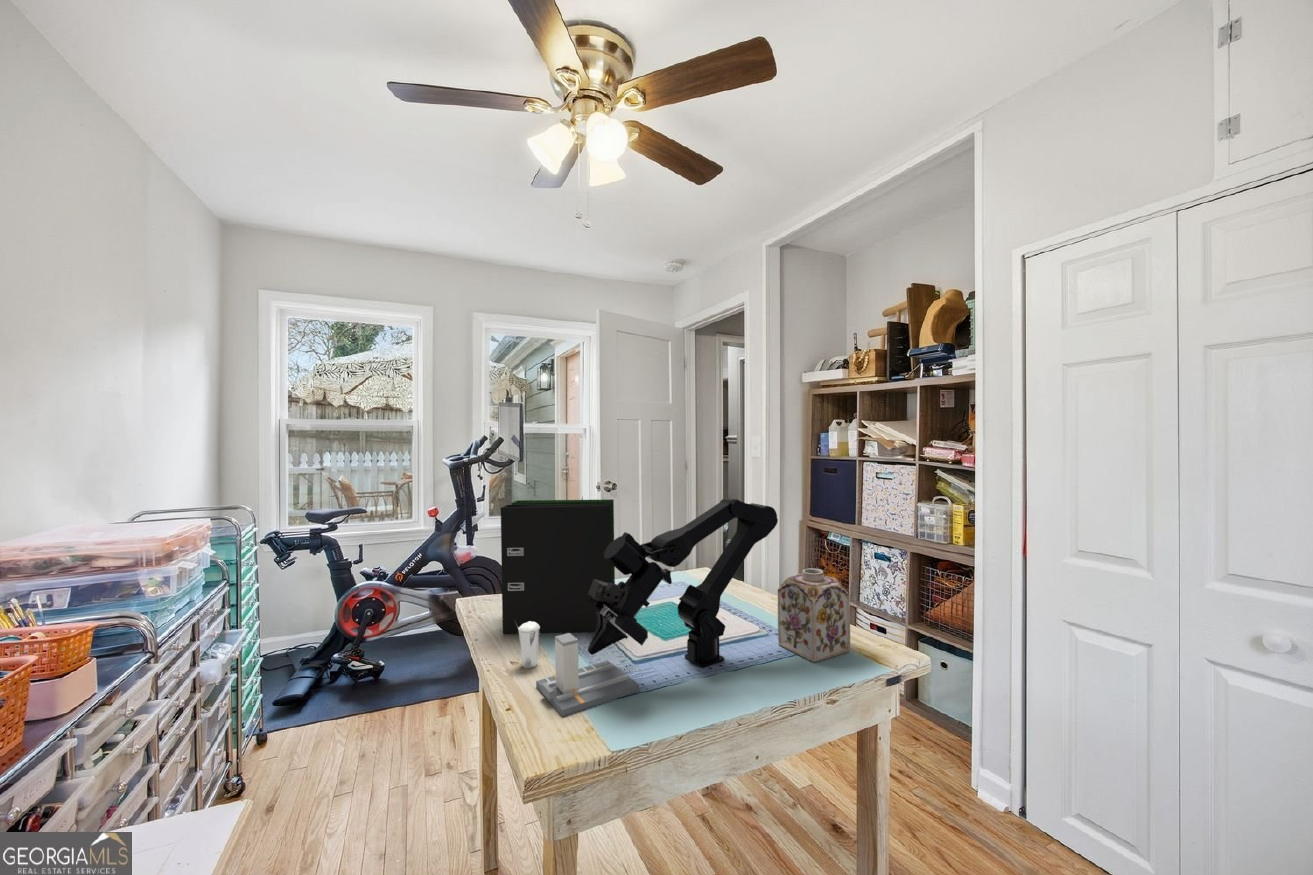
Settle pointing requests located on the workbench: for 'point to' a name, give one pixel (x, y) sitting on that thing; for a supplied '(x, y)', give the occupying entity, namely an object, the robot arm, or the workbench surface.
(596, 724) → the workbench surface
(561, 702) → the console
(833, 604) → the decorative jar
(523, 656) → the milkshake
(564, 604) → the binder
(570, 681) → the fader tab
